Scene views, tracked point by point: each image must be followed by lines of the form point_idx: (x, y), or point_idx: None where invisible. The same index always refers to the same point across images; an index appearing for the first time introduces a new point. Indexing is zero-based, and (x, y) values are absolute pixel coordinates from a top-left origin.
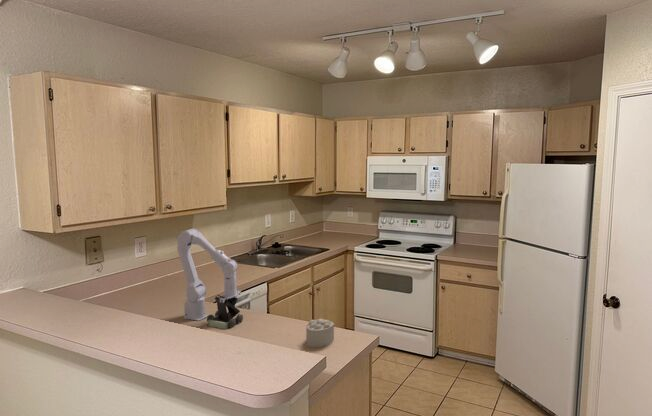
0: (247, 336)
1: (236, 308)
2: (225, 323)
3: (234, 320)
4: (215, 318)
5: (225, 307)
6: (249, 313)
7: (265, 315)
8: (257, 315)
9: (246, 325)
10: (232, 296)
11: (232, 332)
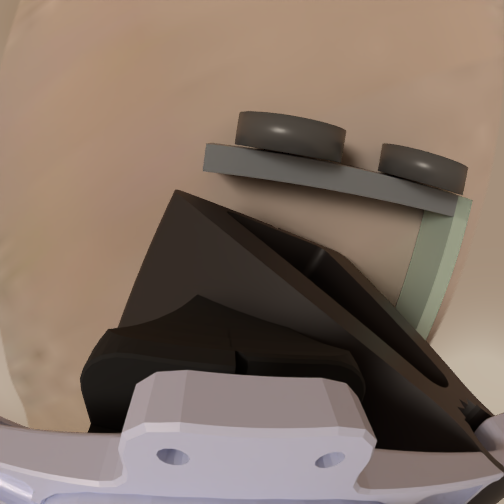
0: (496, 8)
1: (232, 236)
2: (467, 216)
3: (416, 150)
4: None
5: (429, 355)
6: (21, 177)
7: (35, 14)
8: (43, 74)
9: (333, 42)
10: (401, 482)
11: (484, 120)
